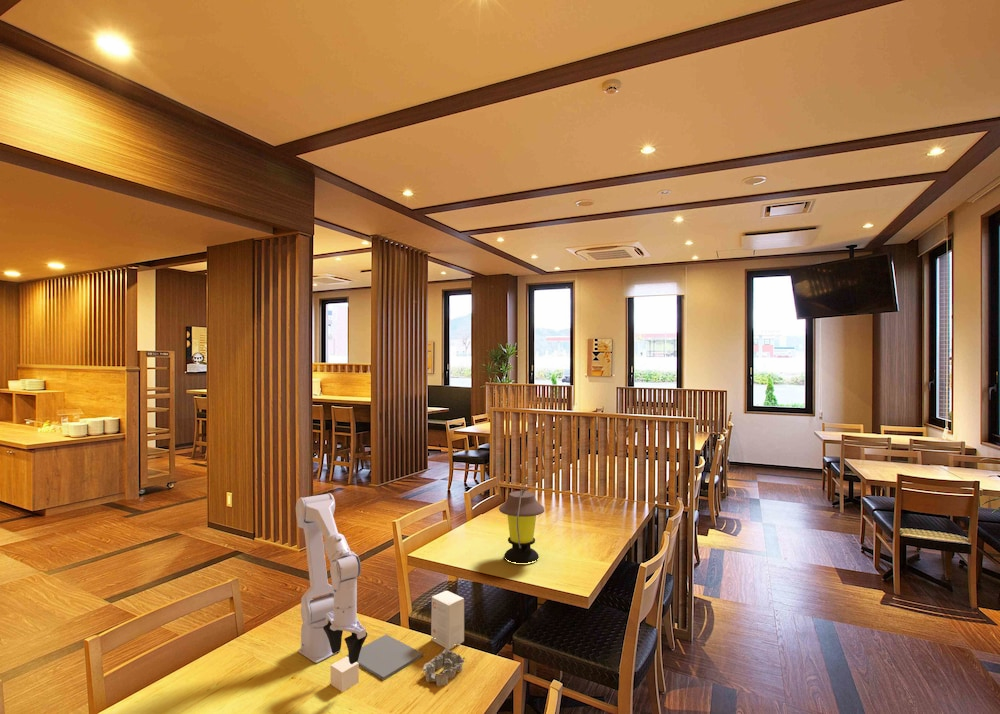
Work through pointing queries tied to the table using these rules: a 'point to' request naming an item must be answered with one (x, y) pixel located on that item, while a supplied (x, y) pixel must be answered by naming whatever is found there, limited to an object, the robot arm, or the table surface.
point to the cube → (344, 674)
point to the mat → (386, 656)
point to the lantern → (521, 525)
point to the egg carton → (449, 671)
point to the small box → (447, 619)
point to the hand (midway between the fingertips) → (344, 656)
